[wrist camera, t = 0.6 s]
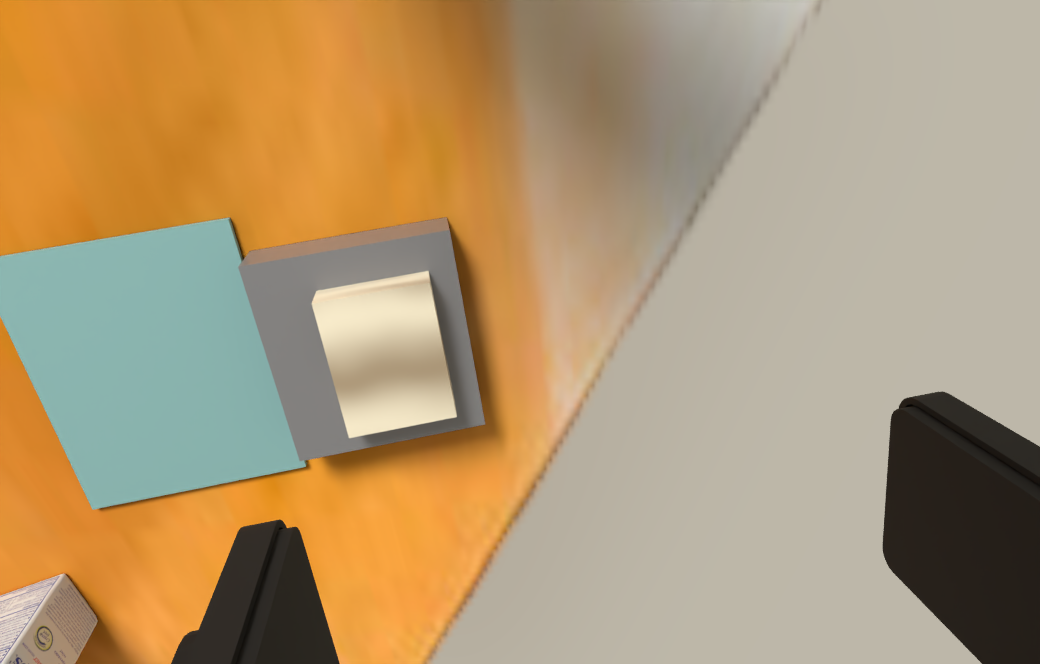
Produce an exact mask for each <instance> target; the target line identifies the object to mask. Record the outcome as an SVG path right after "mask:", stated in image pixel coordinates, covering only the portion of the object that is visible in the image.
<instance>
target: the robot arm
mask: <svg viewBox="0 0 1040 664" xmlns="http://www.w3.org/2000/svg"><path fill="white" fill-rule="evenodd" d="M888 458H889V459H888V473H887V487H886V503H885V518H884V533H883V553H884V557H885V560H886V562H887V564H888V566H889V568H890V569H891V570H892V572H893V573H894V574H895V575H896V576H897V577H898V578H899V579H900V580H901V581H902V582H903V583H904V584H905V585H906V586H907V587H908V588H909V589H910V590H911V591H912V592H913V593H914V594H915V595H916V596H917V597H918V598H919V599H920V600H921V601H922V602H923V604H925V606H926V607H927V608H928V609H929V610H930V611H931V612H933V614H934V615H935V616H936V617H937V618H938V619H939V620H940V621H941V622H942V623H943V624H944V625H945V626H946V627H947V628H948V629H949V630H950V631H951V632H952V633H953V634H954V635H955V636H956V637H957V638H958V639H959V640H960V641H961V642H962V643H963V645H965V647H966V648H967V649H968V650H969V651H970V652H971V653H972V654H973V655H974V656H975V657H976V658H977V659H978V660H979V661H980V662H981V663H982V664H1040V447H1039V446H1038V445H1036V444H1034V443H1032V442H1031V441H1029V440H1027V439H1026V438H1024V437H1022V436H1020V435H1019V434H1017V433H1015V432H1014V431H1012V430H1010V429H1008V428H1007V427H1005V426H1003V425H1002V424H1000V423H998V422H996V421H995V420H993V419H991V418H990V417H988V416H986V415H984V414H983V413H981V412H979V411H977V410H976V409H974V408H972V407H971V406H969V405H967V404H965V403H964V402H962V401H960V400H958V399H957V398H955V397H953V396H952V395H950V394H948V393H945V392H935V393H930V394H925V395H920V396H914V397H909V398H906V399H904V400H903V401H902V402H901V404H900V406H899V409H897V410H895V411H894V412H893V414H892V417H891V426H890V442H889V457H888ZM171 664H339V660H338V657H337V654H336V650H335V647H334V644H333V640H332V637H331V634H330V630H329V627H328V623H327V620H326V617H325V613H324V610H323V607H322V603H321V600H320V597H319V593H318V590H317V587H316V583H315V580H314V577H313V573H312V570H311V567H310V563H309V560H308V557H307V553H306V550H305V546H304V543H303V540H302V536H301V534H300V531H299V529H298V528H297V527H292V528H286V525H285V524H284V522H283V521H282V520H276V521H270V522H265V523H260V524H255V525H250V526H245V527H242V528H240V530H239V531H238V533H237V536H236V538H235V541H234V543H233V546H232V548H231V551H230V553H229V556H228V558H227V561H226V563H225V566H224V568H223V571H222V573H221V576H220V578H219V581H218V583H217V586H216V588H215V591H214V593H213V596H212V598H211V601H210V603H209V606H208V608H207V611H206V613H205V616H204V618H203V621H202V623H201V626H200V628H199V630H197V631H192V632H189V633H188V634H187V635H185V636H184V638H183V639H182V641H181V643H180V644H179V646H178V649H177V651H176V653H175V656H174V658H173V660H172V663H171Z"/></svg>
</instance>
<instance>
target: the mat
mask: <svg viewBox="0 0 1040 664" xmlns="http://www.w3.org/2000/svg"><path fill="white" fill-rule="evenodd" d="M242 261H243V257H242V254H241V251H240V248H239V245H238V241H237V238H236V235H235V232H234V229H233V225H232V222H231V219H230V218H224V219H218V220H212V221H206V222H200V223H194V224H188V225H182V226H176V227H170V228H164V229H158V230H152V231H146V232H141V233H135V234H129V235H123V236H117V237H111V238H105V239H99V240H93V241H87V242H81V243H75V244H69V245H63V246H57V247H51V248H45V249H40V250H34V251H28V252H22V253H16V254H10V255H4V256H0V316H1V319H2V321H3V323H4V325H5V327H6V329H7V331H8V333H9V335H10V337H11V339H12V342H13V344H14V346H15V348H16V350H17V352H18V354H19V356H20V358H21V360H22V363H23V365H24V367H25V369H26V371H27V373H28V375H29V377H30V379H31V381H32V384H33V386H34V388H35V390H36V392H37V394H38V396H39V398H40V400H41V402H42V404H43V407H44V409H45V411H46V413H47V415H48V417H49V419H50V421H51V423H52V425H53V428H54V430H55V432H56V434H57V436H58V438H59V440H60V442H61V444H62V446H63V448H64V451H65V453H66V455H67V457H68V459H69V461H70V463H71V465H72V467H73V469H74V472H75V474H76V476H77V478H78V480H79V482H80V484H81V486H82V488H83V490H84V492H85V495H86V497H87V499H88V501H89V503H90V505H91V507H92V509H98V508H103V507H108V506H113V505H118V504H123V503H128V502H133V501H138V500H143V499H148V498H153V497H158V496H163V495H168V494H173V493H178V492H183V491H188V490H193V489H198V488H203V487H208V486H213V485H218V484H223V483H228V482H233V481H238V480H243V479H248V478H253V477H258V476H263V475H268V474H273V473H278V472H283V471H288V470H293V469H298V468H303V467H306V465H307V462H306V460H304V461H299V457H298V454H297V451H296V448H295V445H294V442H293V439H292V435H291V432H290V429H289V426H288V423H287V420H286V417H285V413H284V410H283V407H282V404H281V401H280V398H279V394H278V391H277V388H276V385H275V382H274V379H273V376H272V372H271V369H270V366H269V363H268V360H267V357H266V354H265V350H264V347H263V344H262V341H261V338H260V335H259V331H258V328H257V325H256V322H255V319H254V316H253V313H252V309H251V306H250V303H249V300H248V297H247V294H246V291H245V287H244V284H243V281H242V278H241V275H240V272H239V268H238V266H239V265H240V264H241V262H242Z"/></svg>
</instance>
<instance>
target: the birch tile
mask: <svg viewBox="0 0 1040 664" xmlns="http://www.w3.org/2000/svg"><path fill="white" fill-rule="evenodd" d="M312 307H313V311H314V314H315V318H316V321H317V325H318V329H319V332H320V336H321V339H322V343H323V347H324V350H325V354H326V357H327V361H328V365H329V368H330V372H331V375H332V379H333V382H334V386H335V390H336V393H337V397H338V400H339V404H340V408H341V411H342V415H343V418H344V422H345V426H346V429H347V433H348V436H349V438H353V437H358V436H363V435H368V434H373V433H378V432H384V431H389V430H394V429H399V428H404V427H409V426H414V425H419V424H424V423H429V422H434V421H439V420H444V419H449V418H454V417H457V414H456V406H455V399H454V394H453V389H452V384H451V379H450V375H449V370H448V365H447V360H446V355H445V350H444V345H443V340H442V335H441V330H440V325H439V320H438V315H437V310H436V305H435V300H434V295H433V290H432V285H431V280H430V275H429V271H425V272H419V273H413V274H408V275H402V276H397V277H391V278H385V279H380V280H374V281H369V282H363V283H357V284H352V285H346V286H341V287H335V288H330V289H324V290H318V291H316V293H315V296H314V298H313V301H312Z"/></svg>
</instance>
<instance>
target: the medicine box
mask: <svg viewBox="0 0 1040 664" xmlns="http://www.w3.org/2000/svg"><path fill="white" fill-rule="evenodd" d="M97 622H98V620H97V617H96V615H95V614H94V612H93V611H92V610H91V608H90V607H89V605H88V604H87V602H86V601H85V599H84V598H83V597H82V595H81V594H80V593H79V591H78V590H77V588H76V587H75V586H74V584H73V583H72V582H71V580H70V579H69V578H68V576H67V575H66V574H61V575H58V576H55V577H52V578H49V579H47V580H44V581H41V582H38V583H35V584H32V585H30V586H27V587H24V588H21V589H18V590H15V591H13V592H10V593H7V594H4V595H1V596H0V664H75V663H76V661H77V659H78V657H79V656H80V654H81V652H82V650H83V648H84V646H85V645H86V643H87V641H88V639H89V637H90V636H91V634H92V632H93V630H94V628H95V626H96V624H97Z"/></svg>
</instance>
